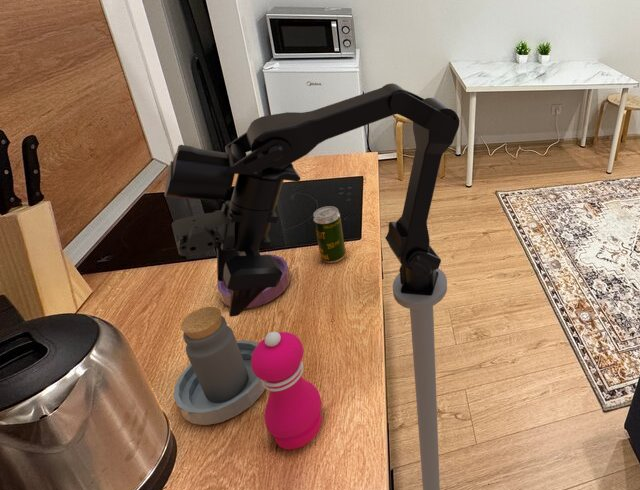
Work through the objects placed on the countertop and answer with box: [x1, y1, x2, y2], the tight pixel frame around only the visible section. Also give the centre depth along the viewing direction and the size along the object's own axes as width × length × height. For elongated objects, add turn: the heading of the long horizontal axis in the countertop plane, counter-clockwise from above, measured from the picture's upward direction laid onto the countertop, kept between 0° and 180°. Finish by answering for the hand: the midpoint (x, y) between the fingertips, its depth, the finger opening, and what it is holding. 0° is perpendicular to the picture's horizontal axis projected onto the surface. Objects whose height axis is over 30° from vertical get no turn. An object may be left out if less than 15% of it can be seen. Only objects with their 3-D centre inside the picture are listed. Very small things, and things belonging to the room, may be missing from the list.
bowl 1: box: [216, 253, 291, 310], centre depth 84 cm, size 12×12×4 cm
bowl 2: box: [173, 339, 266, 426], centre depth 66 cm, size 12×12×4 cm
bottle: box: [180, 305, 248, 403], centre depth 63 cm, size 6×6×15 cm
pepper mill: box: [251, 331, 322, 451], centre depth 57 cm, size 7×7×20 cm
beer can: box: [312, 205, 347, 264], centre depth 92 cm, size 5×5×12 cm
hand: (227, 297), depth 62 cm, fingers open, 9 cm apart
